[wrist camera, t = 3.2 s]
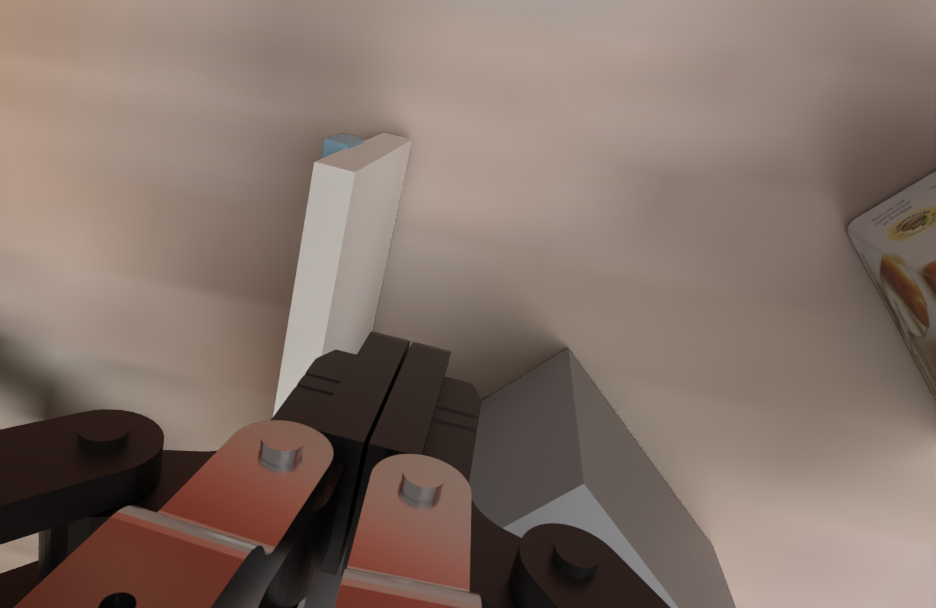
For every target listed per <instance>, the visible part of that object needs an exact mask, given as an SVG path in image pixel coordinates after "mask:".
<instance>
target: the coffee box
mask: <svg viewBox="0 0 936 608" xmlns="http://www.w3.org/2000/svg"><path fill="white" fill-rule="evenodd" d="M848 235H849V237H850V239H851V241H852V243H853V245H854V246H855V248H856V250H857V252H858V254H859V256H860V258H861V260H862V261H863V263H864V265H865V267H866V269H867V271H868V273H869V275H870V277H871V279H872V281H873V282H874V284H875V286H876V288H877V290H878V292H879V294H880V295H881V297H882V299H883V301H884V303H885V305H886V306H887V308H888V310H889V312H890V314H891V316H892V318H893V320H894V321H895V323H896V325H897V327H898V329H899V331H900V333H901V334H902V336H903V338H904V340H905V342H906V344H907V346H908V348H909V349H910V351H911V353H912V355H913V357H914V359H915V361H916V363H917V365H918V367H919V368H920V370H921V372H922V374H923V376H924V378H925V380H926V382H927V384H928V386H929V388H930V390H931V391H932V393H933V395H934V397H935V399H936V171H935V172H933V173H931V174H930V175H928V176H926V177H925V178H923V179H921V180H919V181H918V182H916V183H914V184H913V185H911V186H909V187H908V188H906V189H904V190H903V191H901V192H899V193H898V194H896V195H894V196H892V197H891V198H889V199H887V200H886V201H884V202H882V203H881V204H879V205H877V206H876V207H874V208H872V209H871V210H869V211H867V212H865V213H864V214H862V215H860V216H859V217H857V218H855V219H854V220H853V221H852V222H851V223H850V224H849V226H848Z"/></svg>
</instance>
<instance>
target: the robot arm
mask: <svg viewBox="0 0 936 608" xmlns="http://www.w3.org/2000/svg"><path fill="white" fill-rule="evenodd" d="M409 345H410V341H408V340H404V339H400V338H396V337H392V336H388V335H384V334H380V333H376V332H372V331H371V332H370V333H369V335H368V337H367V338H366V340H365V342H364V343H363V345H362V347H361V348H360V350H359V352H358V353H357V355H356V354H352V353H348V352H344V351H340V350H337V349H335V350H333V351H331V352H329V353H327V354H324V355H322V356H320V357H318V358H316V359H315V360H314V362H313V363H312V364H311V366H310V367H309V368H308V370H307V371H306V373H305V375H303V377H302V378H301V379H300V381H299V382H298V383H297V386H296V387H295V388H294V389H293V390H292V392H291V393H290V394H289V396H288V397H287V399H286V400H285V401H284V403H283V404H282V405H281V407H280V408H279V410H278V411H277V412H276V414H275V415H274V416H273V418H272V419H271V420H270V421H262V422H257V423H253V424H250V425H248V426H245V427H243V428H242V429H240V430H238V431H237V432H236V433H235V434H234V435H233V436H232V437H231V438H230V439H229V440H228V441H227V442H226V443H225V444H224V445H223V446H222V447H221V448H220V449H219V450H218V451H210V452H197V451H174V450H163V444H164V435H163V431H162V430H161V428H160V427H159V425H158V424H156V423H155V422H154V421H153V420H151V419H149V418H148V417H145V416H143V415H141V414H137V413H134V412H129V411H123V410H92V411H86V412H81V413H76V414H72V415H67V416H62V417H57V418H53V419H48V420H43V421H39V422H34V423H29V424H25V425H20V426H15V427H11V428H6V429H1V430H0V544H3V543H6V542H10V541H13V540H16V539H19V538H22V537H25V536H28V535H31V534H35V533H38V532H39V560H38V561H35V562H32V563H30V564H27V565H24V566H21V567H18V568H15V569H12V570H9V571H6V572H4V573H1V574H0V608H304V606H305V601H306V596H307V595H308V594H309V592H310V590H311V589H312V587H313V584H314V582H315V580H316V577H317V575H318V572H319V571H320V572H324V573H328V574H332V575H337V572H338V569H339V567H340V564H341V561H342V559H343V556H344V554H345V551H346V554H345V558H344V563H343V568H342V572H341V577H342V581H341V585H340V589H339V592H338V596H337V600H336V604H335V608H671V607H670V606H669V605H668V604H667V603H666V602H665V601H664V600H663V599H662V598H661V597H660V596H659V595H658V594H657V593H656V592H655V591H654V590H653V589H652V588H651V587H650V586H649V585H648V584H647V583H646V582H645V581H644V580H643V579H642V578H641V577H640V576H639V575H638V574H637V573H636V572H635V571H634V570H633V569H632V568H631V567H630V566H629V565H628V564H627V563H626V562H625V561H624V560H623V559H622V558H621V557H620V556H619V555H618V554H617V553H616V552H615V551H614V550H613V549H612V548H611V547H609V546H608V545H607V544H606V543H605V542H603V541H602V540H601V539H599V538H598V537H596V536H594V535H593V534H591V533H589V532H587V531H585V530H582V529H580V528H577V527H574V526H570V525H566V524H558V523H547V524H541V525H538V526H535V527H533V528H531V529H529V530H528V531H527V532H526V533H525V534H524V535H523V537H522V538H521V537H519V536H517V535H515V534H513V533H511V532H509V531H507V530H505V529H503V528H501V527H500V526H498V525H496V524H495V523H493V522H492V521H491V520H489V519H488V518H487V517H486V516H485V515H484V514H482V512H481V511H480V510H479V509H478V508H477V507H476V505H475V503H474V502H473V500H472V494H471V488H470V486H469V480H470V474H471V467H472V461H473V454H474V447H475V441H476V434H477V428H478V421H479V420H478V419H479V415H480V408H481V402H482V400H481V398H480V397H479V395H478V393H477V391H476V389H475V388H474V386H473V384H471V383H467V382H463V381H459V380H455V379H451V378H447V377H445V374H446V370H447V366H448V362H449V358H450V353H451V351H447V350H443V349H439V348H436V347H432V346H428V345H424V344H420V343H416V342H412V344H411V347H410V349H409ZM346 548H347V549H346Z"/></svg>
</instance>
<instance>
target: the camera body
mask: <svg viewBox="0 0 936 608" xmlns="http://www.w3.org/2000/svg"><path fill="white" fill-rule="evenodd" d="M478 420H479V421H478V428H477V434H476V441H475V447H474V454H473V461H472V467H471V474H470V480H469V486H470V488H471V494H472V500H473V502H474V503H475V505H476V507H477V508H478V509H479V510H480V511H481V512H482V514H484V515H485V516H486V517H487V518H488V519H489V520H491V521H492V522H493V523H495V524H496V525H498V526H500V527H501V528H503V529H505V530H507V531H509V532H511V533H513V534H515V535H517V536H519V537H521V538H522V537H523V535H524V534H525V533H526V532H527V531H528V530H529V529H531V528H533V527H535V526H538V525H541V524H547V523H558V524H566V525H570V526H574V527H577V528H580V529H582V530H585V531H587V532H589V533H591V534H593V535H594V536H596V537H598V538H599V539H601V540H602V541H603V542H605V543H606V544H607V545H608V546H609V547H611V548H612V549H613V550H614V551H615V552H616V553H617V554H618V555H619V556H620V557H621V558H622V559H623V560H624V561H625V562H626V563H627V564H628V565H629V566H630V567H631V568H632V569H633V570H634V571H635V572H636V573H637V574H638V575H639V576H640V577H641V578H642V579H643V580H644V581H645V582H646V583H647V584H648V585H649V586H650V587H651V588H652V589H653V590H654V591H655V592H656V593H657V594H658V595H659V596H660V597H661V598H662V599H663V600H664V601H665V602H666V603H667V604H668V605H669V606H670V607H671V608H736V607H735V604H734V601H733V599H732V596H731V593H730V591H729V588H728V585H727V582H726V580H725V577H724V574H723V572H722V569H721V566H720V564H719V561H718V558H717V555H716V553H715V550H714V547H713V546H712V544H711V543H710V542H709V540H708V539H707V538H706V536H705V535H704V533H703V532H702V531H701V529H700V528H699V527H698V525H697V524H696V522H695V521H694V520H693V518H692V517H691V516H690V514H689V513H688V511H687V510H686V509H685V507H684V506H683V505H682V503H681V502H680V500H679V499H678V498H677V496H676V495H675V494H674V492H673V491H672V489H671V488H670V487H669V485H668V484H667V483H666V481H665V480H664V478H663V477H662V476H661V474H660V473H659V472H658V470H657V469H656V467H655V466H654V465H653V463H652V462H651V461H650V459H649V458H648V456H647V455H646V454H645V452H644V451H643V450H642V448H641V447H640V445H639V444H638V443H637V441H636V440H635V439H634V437H633V436H632V434H631V433H630V432H629V430H628V429H627V428H626V426H625V425H624V423H623V422H622V421H621V419H620V418H619V417H618V415H617V414H616V412H615V411H614V410H613V408H612V407H611V406H610V404H609V403H608V401H607V400H606V399H605V397H604V396H603V395H602V393H601V392H600V390H599V389H598V388H597V386H596V385H595V384H594V382H593V381H592V379H591V378H590V377H589V375H588V374H587V373H586V371H585V370H584V368H583V367H582V366H581V364H580V363H579V362H578V360H577V359H576V357H575V356H574V355H573V353H572V352H571V351H570V349H569V348H567V349H565V350H564V351H562V352H560V353H559V354H557V355H555V356H554V357H552V358H551V359H549V360H547V361H546V362H544V363H542V364H541V365H539V366H537V367H536V368H534V369H533V370H531V371H529V372H528V373H526V374H524V375H523V376H521V377H520V378H518V379H516V380H515V381H513V382H511V383H510V384H508V385H507V386H505V387H503V388H502V389H500V390H498V391H497V392H495V393H493V394H492V395H490V396H489V397H487V398H485V399H484V400H482V402H481V408H480V415H479V419H478ZM346 549H347V548H346ZM345 554H346V551H345ZM345 554H344V556H343V559H342V561H341V564H340V567H339V569H338V572H337V575H332V574H328V573H324V572H320V571H319V572H318V575H317V577H316V580H315V582H314V584H313V587H312V589H311V590H310V592H309V594H308V595H307V596H306V601H305V606H304V608H335V604H336V600H337V596H338V592H339V589H340V585H341V581H342V577H341V572H342V568H343V563H344V558H345Z"/></svg>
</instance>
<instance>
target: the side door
mask: <svg viewBox="0 0 936 608" xmlns="http://www.w3.org/2000/svg"><path fill="white" fill-rule="evenodd" d="M411 144H412V139H408V138H404V137H400V136H396V135H392V134H389V133H385V132H384V133H381V134H379V135H377V136H374V137H372V138H370V139H367V140H365V141H364V139H363V138H359V137H356V136H352V135H348V134H344V133H341V134H338V135H335V136H332V137H329V138H326V139H325V140H324V146H323V152H322V158H321V159H319V160H317V161H315V162H314V166H313V172H312V178H311V184H310V191H309V197H308V203H307V209H306V215H305V222H304V228H303V234H302V240H301V246H300V252H299V259H298V265H297V271H296V277H295V283H294V289H293V296H292V302H291V308H290V314H289V320H288V327H287V333H286V339H285V345H284V351H283V357H282V364H281V370H280V376H279V382H278V388H277V395H276V401H275V407H274V413H273V416H274V415H275V414H276V412H277V411H278V410H279V408H280V407H281V405H282V404H283V403H284V401H285V400H286V399H287V397H288V396H289V394H290V393H291V392H292V390H293V389H294V388H295V387H296V386H297V383H298V382H299V381H300V379H301V378H302V377H303V375H305V373H306V371H307V370H308V368H309V367H310V366H311V364H312V363H313V362H314V360H315V359H316V358H318V357H320V356H322V355H324V354H327V353H329V352H331V351H333V350H335V349H337V350H340V351H344V352H348V353H352V354H356V355H357V353H358V352H359V350H360V348H361V347H362V345H363V343H364V342H365V340H366V338H367V337H368V335H369V333H370V332H371V331H372V330H373V325H374V320H375V316H376V311H377V306H378V301H379V297H380V292H381V287H382V282H383V278H384V273H385V268H386V263H387V259H388V254H389V249H390V244H391V239H392V235H393V230H394V225H395V220H396V216H397V211H398V206H399V201H400V197H401V192H402V187H403V182H404V177H405V173H406V168H407V163H408V158H409V154H410V149H411Z"/></svg>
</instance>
